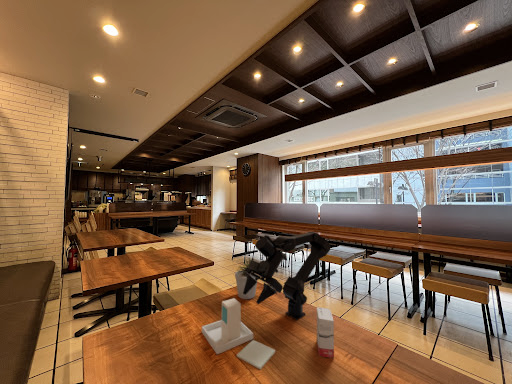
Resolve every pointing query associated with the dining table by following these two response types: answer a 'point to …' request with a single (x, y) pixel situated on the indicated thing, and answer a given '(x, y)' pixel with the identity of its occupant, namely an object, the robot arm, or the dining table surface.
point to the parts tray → (214, 338)
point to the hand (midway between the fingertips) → (250, 298)
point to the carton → (230, 320)
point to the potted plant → (241, 283)
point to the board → (256, 354)
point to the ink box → (325, 332)
